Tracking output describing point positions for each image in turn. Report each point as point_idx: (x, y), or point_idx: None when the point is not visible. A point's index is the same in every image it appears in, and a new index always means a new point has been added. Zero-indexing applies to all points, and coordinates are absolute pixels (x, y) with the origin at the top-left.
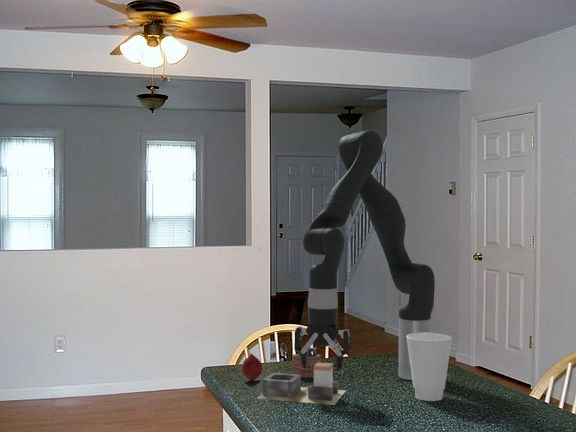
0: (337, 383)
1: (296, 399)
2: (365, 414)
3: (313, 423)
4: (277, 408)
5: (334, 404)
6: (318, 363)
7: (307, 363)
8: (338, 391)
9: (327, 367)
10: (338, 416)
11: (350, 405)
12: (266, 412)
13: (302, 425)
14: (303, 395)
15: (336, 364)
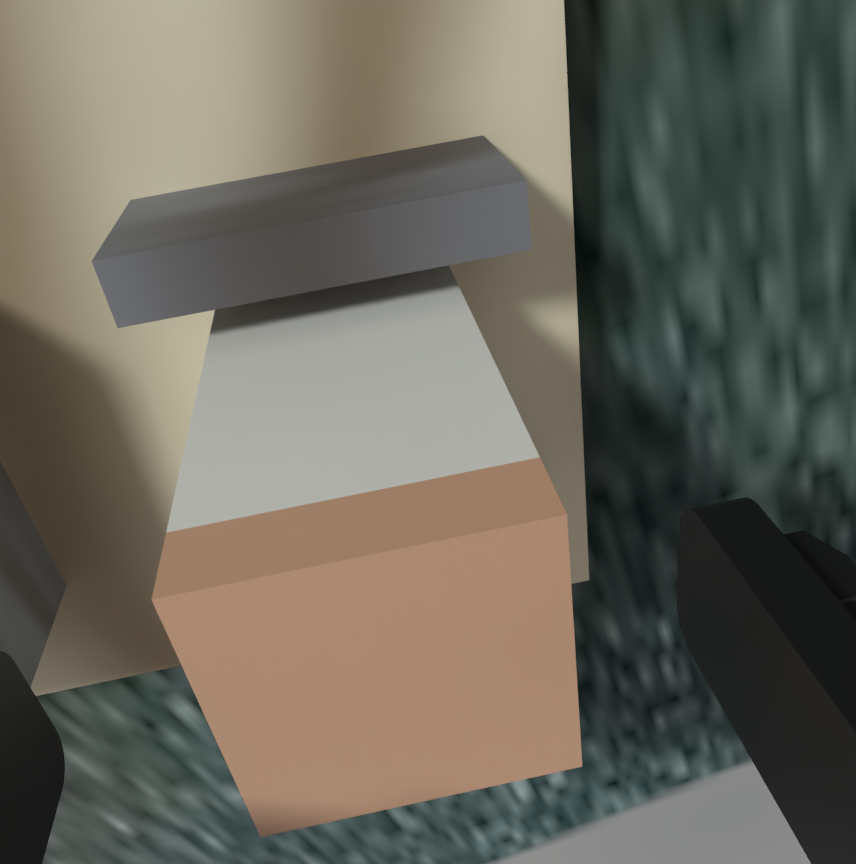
0: (522, 208)
1: (147, 609)
2: (852, 497)
3: (512, 803)
4: (60, 698)
5: (586, 571)
6: (228, 656)
7: (3, 776)
8: (461, 34)
9: (543, 762)
10: (639, 631)
11: (681, 311)
12: (60, 798)
13: (460, 852)
14: (114, 455)
15: (740, 732)
